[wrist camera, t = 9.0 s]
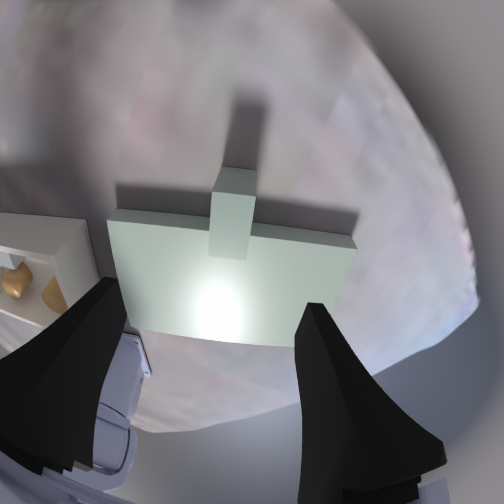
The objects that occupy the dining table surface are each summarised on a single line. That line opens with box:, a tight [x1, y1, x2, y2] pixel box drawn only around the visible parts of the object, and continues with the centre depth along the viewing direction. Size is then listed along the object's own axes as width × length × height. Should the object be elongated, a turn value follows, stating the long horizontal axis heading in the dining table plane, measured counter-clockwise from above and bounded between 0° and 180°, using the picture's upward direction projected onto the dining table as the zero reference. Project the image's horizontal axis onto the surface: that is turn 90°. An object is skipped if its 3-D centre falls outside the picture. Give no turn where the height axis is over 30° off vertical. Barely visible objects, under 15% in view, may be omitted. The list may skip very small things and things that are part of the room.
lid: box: [107, 167, 358, 347], centre depth 19 cm, size 15×18×4 cm
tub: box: [0, 212, 100, 329], centre depth 19 cm, size 10×16×5 cm, turn 83°
